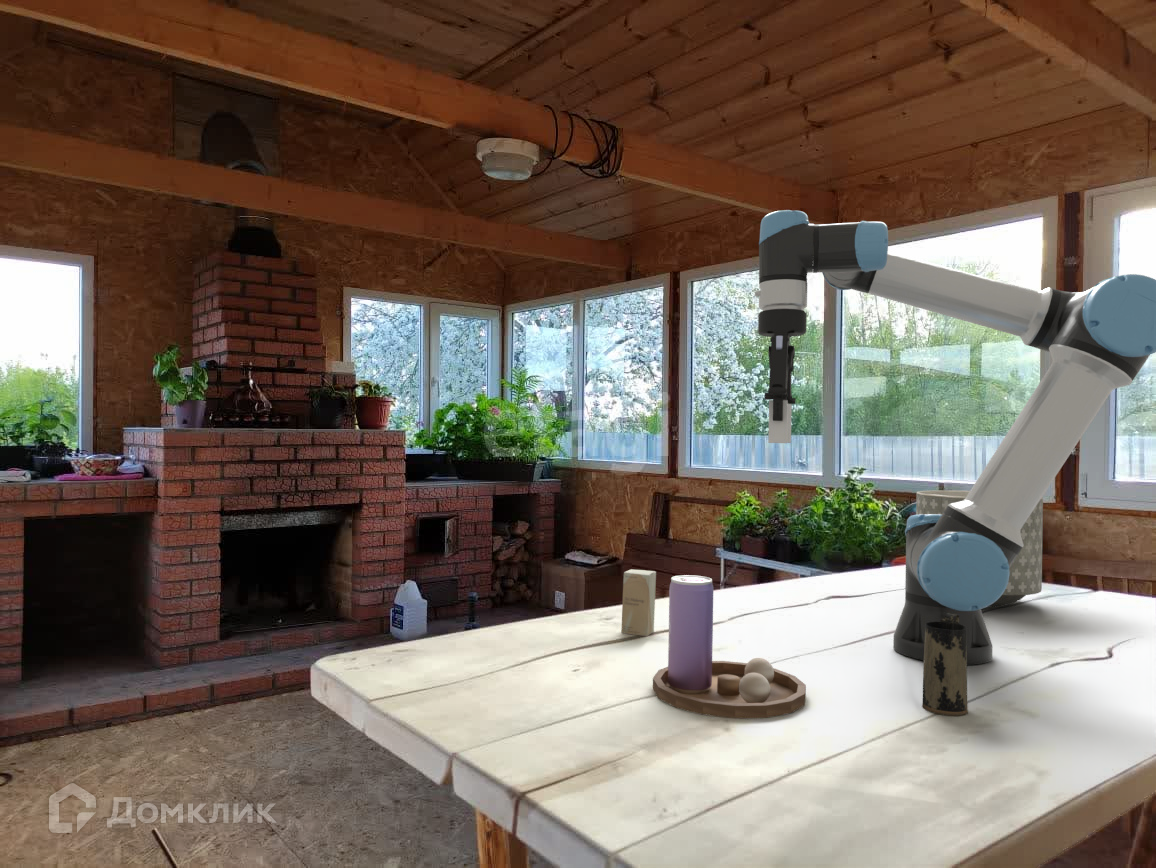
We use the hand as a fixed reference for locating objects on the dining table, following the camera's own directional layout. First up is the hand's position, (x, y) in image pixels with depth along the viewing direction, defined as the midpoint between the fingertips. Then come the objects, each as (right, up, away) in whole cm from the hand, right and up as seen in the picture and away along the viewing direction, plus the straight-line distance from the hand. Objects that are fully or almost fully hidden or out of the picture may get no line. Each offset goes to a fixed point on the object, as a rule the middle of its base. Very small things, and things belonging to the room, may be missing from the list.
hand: (780, 443), depth 132 cm
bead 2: (-10, -34, -25) cm, 43 cm away
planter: (+56, -36, +50) cm, 83 cm away
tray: (-12, -35, -21) cm, 42 cm away
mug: (+17, -35, -22) cm, 45 cm away
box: (-22, -35, +17) cm, 44 cm away
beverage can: (-17, -34, -19) cm, 42 cm away
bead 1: (-7, -34, -18) cm, 39 cm away
